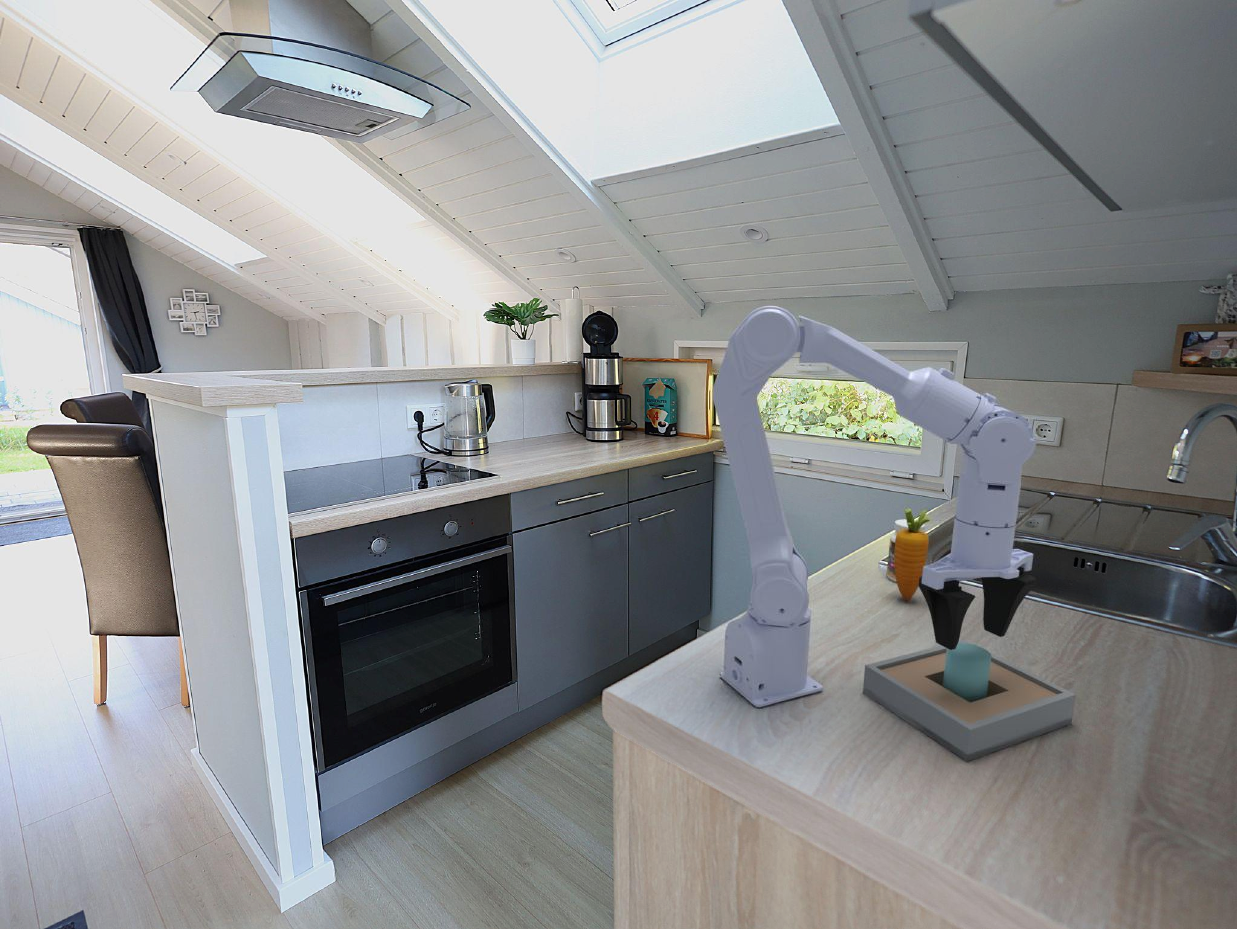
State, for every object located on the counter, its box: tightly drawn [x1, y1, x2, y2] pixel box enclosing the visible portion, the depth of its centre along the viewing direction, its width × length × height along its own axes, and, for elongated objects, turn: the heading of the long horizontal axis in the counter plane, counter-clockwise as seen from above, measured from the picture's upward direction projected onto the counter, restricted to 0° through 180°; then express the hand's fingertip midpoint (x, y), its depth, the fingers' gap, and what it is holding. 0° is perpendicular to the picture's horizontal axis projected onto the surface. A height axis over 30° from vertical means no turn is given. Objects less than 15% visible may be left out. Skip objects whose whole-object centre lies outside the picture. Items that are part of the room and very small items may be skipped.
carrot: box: [894, 508, 931, 602], centre depth 104 cm, size 5×5×15 cm
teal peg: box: [943, 642, 992, 703], centre depth 75 cm, size 4×4×6 cm
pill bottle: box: [886, 518, 926, 583], centre depth 113 cm, size 6×6×10 cm
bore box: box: [862, 639, 1077, 763], centre depth 75 cm, size 16×14×4 cm
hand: (970, 639), depth 74 cm, fingers open, 7 cm apart
